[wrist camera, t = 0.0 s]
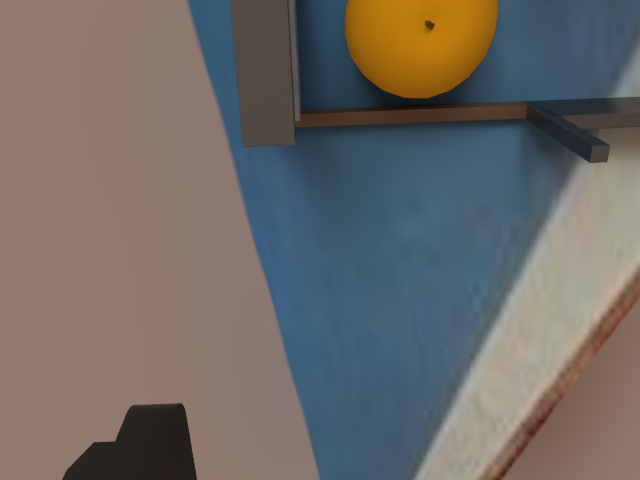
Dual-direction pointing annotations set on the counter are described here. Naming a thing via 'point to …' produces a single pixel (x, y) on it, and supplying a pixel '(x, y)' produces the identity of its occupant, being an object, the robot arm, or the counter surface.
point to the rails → (412, 114)
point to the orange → (419, 42)
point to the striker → (267, 70)
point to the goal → (584, 121)
